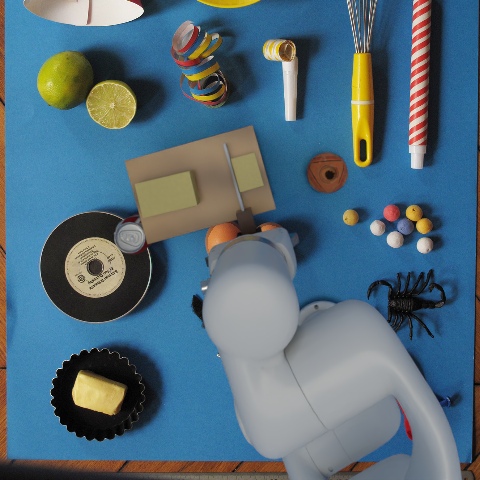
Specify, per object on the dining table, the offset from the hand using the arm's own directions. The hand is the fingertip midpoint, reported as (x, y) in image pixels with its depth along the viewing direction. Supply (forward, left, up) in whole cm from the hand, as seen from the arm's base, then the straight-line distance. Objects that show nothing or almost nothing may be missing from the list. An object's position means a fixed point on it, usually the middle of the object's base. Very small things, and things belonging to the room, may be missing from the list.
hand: (251, 239), depth 61 cm
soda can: (+4, +21, -24) cm, 33 cm away
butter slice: (+10, 0, 0) cm, 10 cm away
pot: (+5, -17, -25) cm, 30 cm away
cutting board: (+10, +5, -24) cm, 27 cm away
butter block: (+10, +10, -1) cm, 14 cm away
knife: (+5, 0, -1) cm, 5 cm away
